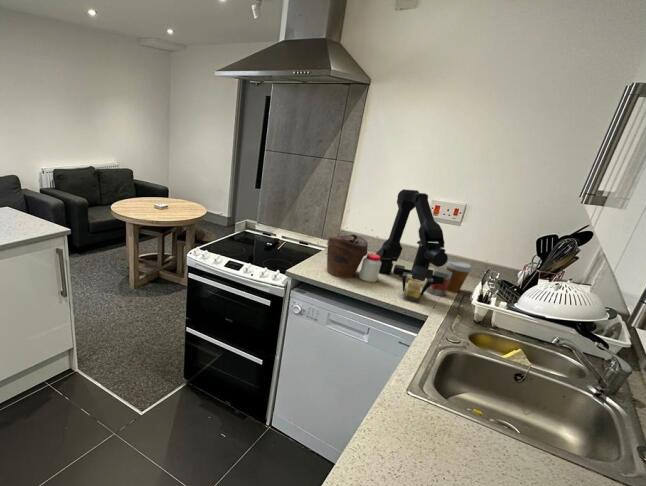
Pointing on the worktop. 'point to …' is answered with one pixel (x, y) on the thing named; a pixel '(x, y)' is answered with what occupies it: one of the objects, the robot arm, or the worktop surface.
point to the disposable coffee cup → (457, 274)
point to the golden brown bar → (413, 291)
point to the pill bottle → (370, 268)
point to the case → (345, 254)
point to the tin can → (439, 288)
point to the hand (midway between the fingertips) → (412, 293)
